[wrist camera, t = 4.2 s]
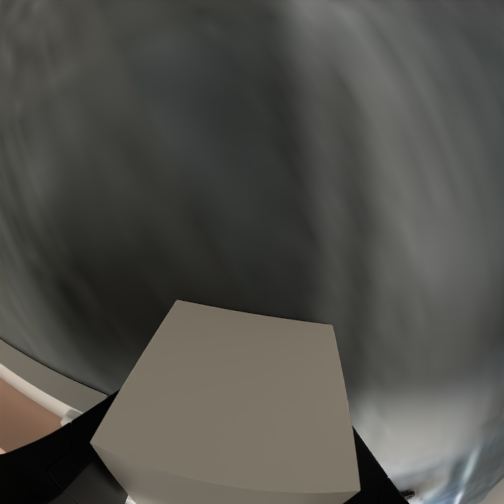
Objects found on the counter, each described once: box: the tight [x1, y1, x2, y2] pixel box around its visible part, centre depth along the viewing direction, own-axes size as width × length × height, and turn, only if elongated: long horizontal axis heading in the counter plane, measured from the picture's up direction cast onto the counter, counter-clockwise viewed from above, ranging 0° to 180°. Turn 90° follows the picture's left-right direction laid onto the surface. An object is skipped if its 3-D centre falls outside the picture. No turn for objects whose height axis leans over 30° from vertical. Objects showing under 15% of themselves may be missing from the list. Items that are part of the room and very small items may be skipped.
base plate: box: [0, 339, 132, 500], centre depth 10 cm, size 12×12×6 cm
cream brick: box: [90, 300, 360, 504], centre depth 6 cm, size 4×4×5 cm
